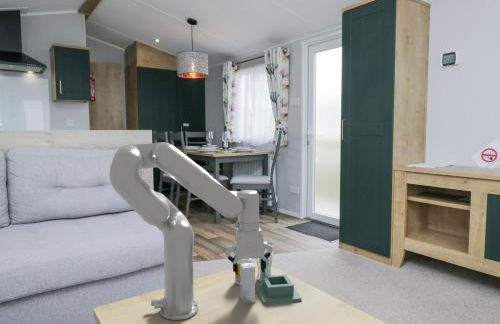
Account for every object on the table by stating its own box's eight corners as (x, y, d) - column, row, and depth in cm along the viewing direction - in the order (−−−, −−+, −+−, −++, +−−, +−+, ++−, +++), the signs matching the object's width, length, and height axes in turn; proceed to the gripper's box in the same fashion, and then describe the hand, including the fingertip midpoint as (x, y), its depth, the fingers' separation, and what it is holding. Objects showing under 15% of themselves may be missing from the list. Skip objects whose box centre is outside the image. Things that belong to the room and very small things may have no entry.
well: (263, 304, 126) (263, 290, 125) (255, 286, 140) (255, 274, 139) (301, 300, 129) (301, 287, 128) (289, 283, 142) (290, 271, 142)
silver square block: (242, 303, 126) (242, 268, 125) (240, 297, 131) (240, 263, 129) (254, 302, 127) (255, 267, 126) (252, 296, 131) (252, 262, 130)
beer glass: (271, 283, 142) (272, 246, 141) (254, 281, 144) (254, 245, 142) (273, 276, 149) (274, 241, 147) (257, 274, 150) (257, 239, 149)
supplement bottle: (233, 279, 145) (233, 249, 144) (248, 277, 147) (249, 247, 146) (237, 287, 139) (237, 255, 137) (253, 285, 141) (254, 253, 139)
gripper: (225, 230, 120) (226, 279, 123) (275, 226, 124) (275, 274, 126) (222, 224, 128) (224, 270, 130) (269, 220, 131) (270, 265, 133)
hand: (249, 272), depth 128 cm, fingers open, 9 cm apart
